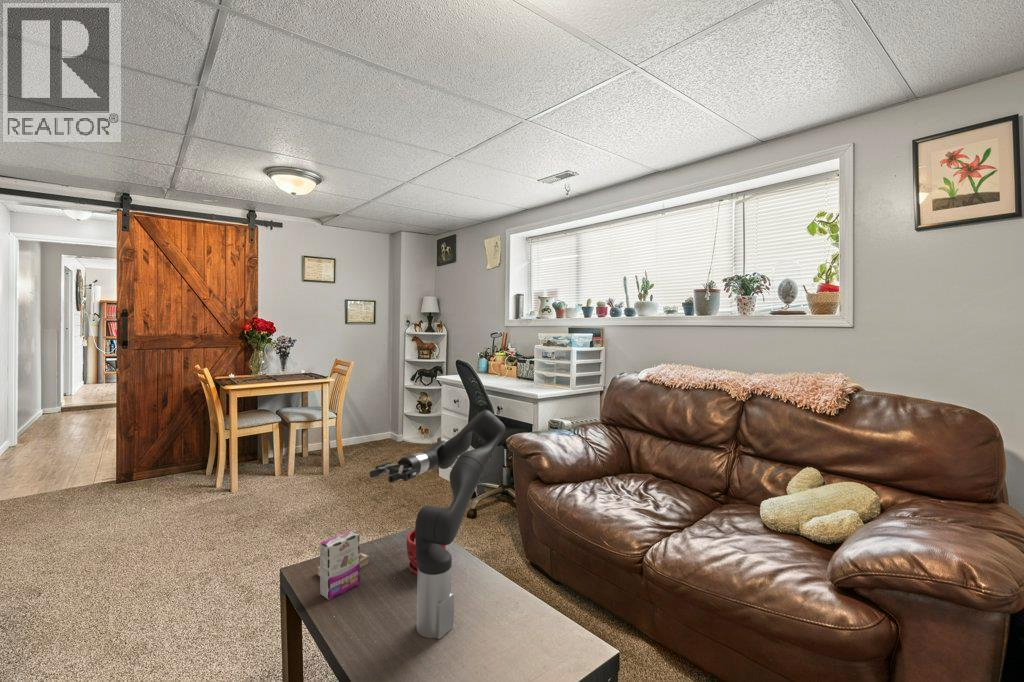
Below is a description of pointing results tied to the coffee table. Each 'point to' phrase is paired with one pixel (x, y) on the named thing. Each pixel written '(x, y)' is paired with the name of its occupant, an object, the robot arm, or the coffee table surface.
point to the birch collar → (362, 558)
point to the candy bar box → (339, 564)
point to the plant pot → (413, 551)
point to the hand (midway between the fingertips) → (379, 477)
